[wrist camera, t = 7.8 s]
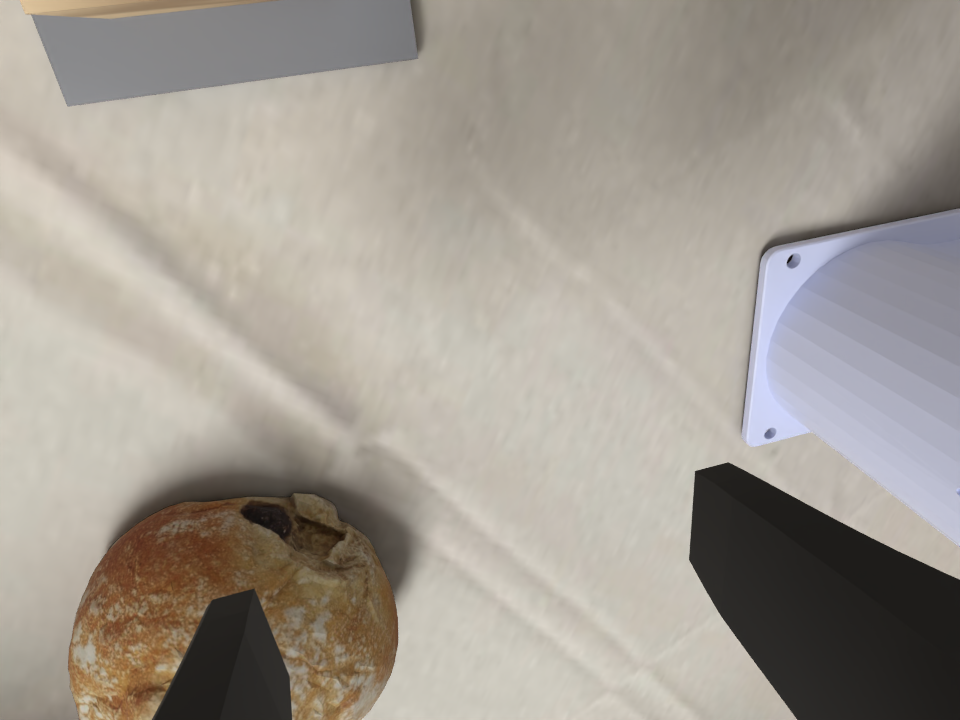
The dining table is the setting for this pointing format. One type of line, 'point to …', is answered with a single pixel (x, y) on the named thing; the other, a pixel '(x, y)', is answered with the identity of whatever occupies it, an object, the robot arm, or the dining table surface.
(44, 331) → the dining table surface
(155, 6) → the oak block
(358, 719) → the bread roll
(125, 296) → the dining table surface
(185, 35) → the slate coaster
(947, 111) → the dining table surface
